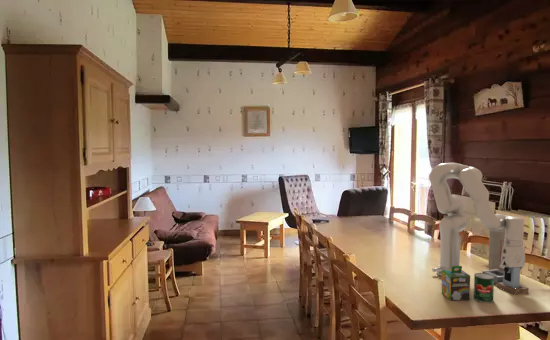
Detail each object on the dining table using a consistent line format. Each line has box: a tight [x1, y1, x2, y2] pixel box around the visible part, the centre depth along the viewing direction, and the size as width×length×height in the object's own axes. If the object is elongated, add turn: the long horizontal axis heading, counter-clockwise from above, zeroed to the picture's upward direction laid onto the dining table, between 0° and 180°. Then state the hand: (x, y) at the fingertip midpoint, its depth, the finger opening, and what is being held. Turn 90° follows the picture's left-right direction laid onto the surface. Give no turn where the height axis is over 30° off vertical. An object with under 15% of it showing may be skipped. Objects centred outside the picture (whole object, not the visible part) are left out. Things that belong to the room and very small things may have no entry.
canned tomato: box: [473, 272, 495, 304], centre depth 178 cm, size 8×8×11 cm
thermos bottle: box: [487, 229, 505, 271], centre depth 218 cm, size 8×8×28 cm
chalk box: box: [441, 265, 471, 301], centre depth 181 cm, size 9×9×15 cm
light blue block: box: [503, 265, 521, 289], centre depth 189 cm, size 4×6×10 cm, turn 14°
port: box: [481, 269, 503, 285], centre depth 201 cm, size 10×10×4 cm
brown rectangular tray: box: [496, 282, 529, 295], centre depth 189 cm, size 8×10×2 cm
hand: (511, 279), depth 189 cm, fingers closed on light blue block, 3 cm apart
